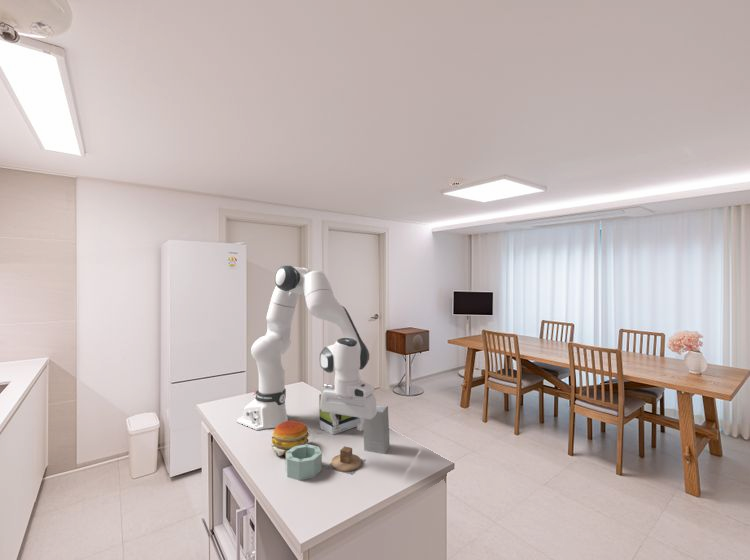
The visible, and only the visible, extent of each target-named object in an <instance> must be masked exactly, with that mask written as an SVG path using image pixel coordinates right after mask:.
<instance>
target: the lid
mask: <svg viewBox="0 0 750 560" xmlns="http://www.w3.org/2000/svg"><path fill="white" fill-rule="evenodd" d="M339 451H340V452H339V454H337V455H335V456H334V457H332V459H331V466H332V468H333V469H335V470H337V471H336V472H339V471H340V473H343V472H350V471H354V470H356V469H357V470H359V469H360V467H361V466H362V465H361V459H362V458H361V457H360V456H359V455H356V454H354V453H353V448H352V447H349V446H343V447H342V448H341V449H340V450H339ZM360 465H361V466H360ZM335 470H334V471H335Z"/></svg>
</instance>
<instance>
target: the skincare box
mask: <svg viewBox="0 0 750 560" xmlns="http://www.w3.org/2000/svg"><path fill="white" fill-rule="evenodd" d="M376 406H377V414H376V415H375V417H374V418H372V419H366V421H365V423H364V424H363V430H362V431H363V451H365V452H371V453H377V454H382V455H385V454H386V453H387V451H388V449H389V448H390V446H391V445H390V425H389V423H390V422H389V419H390V418H389V406H388V405H379V404H376Z"/></svg>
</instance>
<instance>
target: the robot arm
mask: <svg viewBox="0 0 750 560" xmlns="http://www.w3.org/2000/svg"><path fill="white" fill-rule="evenodd" d="M274 282H275V283H274V284H275V287H274V290H273V292H272V294H271V295H272V296H271V297H270V301H269V305H268V309H267V314H266V317H265V318H266V319H265V320H266V323H267V328H266V329H267V330H266V333H265V335H263V336H260V337H258V339H256V340H255V341H254V343H253V344H252V345H251V348H250V352H251V357H252V358H253V359H254V360H255V363H256V366H257V373H258V389H257V390H256V391H254V392H253V396H254V395H255V397H254V399H253V400H250V402H249V403H248V404H247V405H245V406H244V408H243V412H242V415H241V416H239V417H237V419H236V423H237V422H238V424H240V425H242V424H243V426H246V427H247V426H248V428H250V429H252V428H253V430H256V431H260V430H265V429H275V428H276V427H277V426H278V425H279V424H281V423H283V422H286V421H289V418H288V417H289V416H288V413H287V407H286V399H287V397H286V396H287V395H286V394H287V393H286V384H285V383H286V382H285V381H286V380H285V379H286V373H285V372H286V371H285V369H284V366H283V363H282V358H281V357H282V355H284V354H285V353H286V352H287V351H288V349H290V347H291V344H292V343H291V342H292V341H291V330H292V329H291V328H292V321H293V319H294V315H295V311H296V306H297V302H298V298H299V296H301V295H304V299H305V304H306V307H307V310H308V311H309V313H310V314H311V315H312V316H313V317H315V318H316V319H320V320H323V321H327V322H331V323H333V324H335V325H336V326H338V327H339V329H340V330H341V332H342V334H343V336H344V337H342V338H338V339H336V341H335V342H334V343H333V344H331V345H327V346H324V347H323V349H321V352H320V353H319V365H320V368H321V369H322V370H323V371H325V372H326V373H329V374H331V373H333V374H334V381H333V382H334V384H327V383H326V384H324V385H322V387H321V388H320V394H321V401H320V406H319V410H320V409H321V411H322V412H327V413H330V418H331V419H332V421H333V426H338V425H339V420H337V419H336V416H335V414H340V415H346V416H352V417H358V418H360V421H361V423H359V424H358V425H357V427H356V428H357V431H363V424H364V423H365V421H366V419H372V418H374V417H375V415H376V414H377V406H376V405H377V399H376V396H375V395H374V392H375V388H374V385H371V384H369V383H367V382H365V381H363V380H361V374H360V370H363V369H364V368H365V367H366V366H367V364H368V363H369V361H370V351H369V349H368V347H367V345H366V344H365V342H363V340H362V338H361V335H360V334H359V332H358V330H357V327H356V326H355V324H354V322H353V319H352V317H351V316H350V313H349V311H348V310H347V308H346V307H345V306H343V305H342V304H340V302H339V301H338V300H337V298H336V297H335V295H334V293H333V292H334V291H333V289H332V286H331V284H330V282H329V279H328V278H327V276H326V274H325V273H324V272H323V271H321V270H313V269H310V268H306V267H300V266H292V265H282V266H280V267H279V268H278V269H277V271H276V273H275V276H274Z"/></svg>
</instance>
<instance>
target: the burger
mask: <svg viewBox="0 0 750 560" xmlns="http://www.w3.org/2000/svg"><path fill="white" fill-rule="evenodd" d="M308 430H309V429H308V427H307V426H306V424H305V423H304V422H301V421H298V420H294V419H293V420H288V421H286V422H283V423H281V424H279V425H278V426H277V427H275V428H273V432H272V436H271V447H272V450H273V452H274V453H276V454H277V455H278V456H279V457H281V456H286V452H287V451H288V450H290V449H291V448H293V447H294V446H299V445H305V444H309V438H308V437H309V435H310V433H309V431H308Z"/></svg>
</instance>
